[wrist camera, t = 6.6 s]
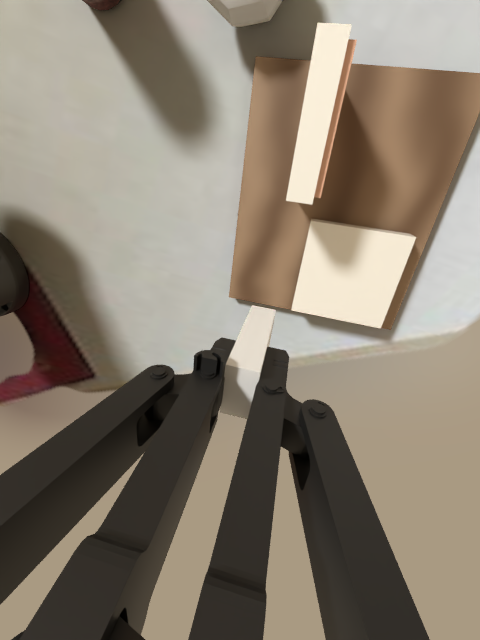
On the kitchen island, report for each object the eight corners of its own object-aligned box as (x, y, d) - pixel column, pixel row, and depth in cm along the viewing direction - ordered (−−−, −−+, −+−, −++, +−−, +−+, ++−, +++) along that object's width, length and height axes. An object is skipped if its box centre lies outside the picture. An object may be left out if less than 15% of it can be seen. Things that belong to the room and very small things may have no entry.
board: (231, 293, 39) (228, 297, 38) (258, 62, 28) (255, 56, 27) (387, 324, 36) (390, 329, 35) (485, 80, 25) (495, 74, 24)
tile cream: (293, 194, 31) (285, 200, 22) (316, 75, 26) (317, 22, 17) (317, 198, 30) (319, 205, 22) (344, 77, 26) (360, 25, 17)
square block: (291, 310, 34) (380, 328, 32) (311, 220, 29) (416, 237, 28) (292, 302, 36) (376, 318, 34) (311, 217, 31) (408, 233, 30)
